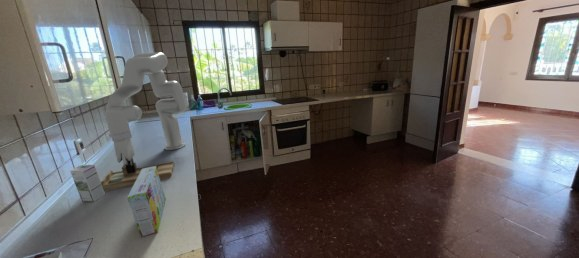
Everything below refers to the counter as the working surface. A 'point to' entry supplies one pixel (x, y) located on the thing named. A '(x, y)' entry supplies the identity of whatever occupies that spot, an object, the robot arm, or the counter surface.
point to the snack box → (147, 201)
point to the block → (126, 170)
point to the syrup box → (87, 183)
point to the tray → (134, 176)
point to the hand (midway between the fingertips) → (131, 172)
